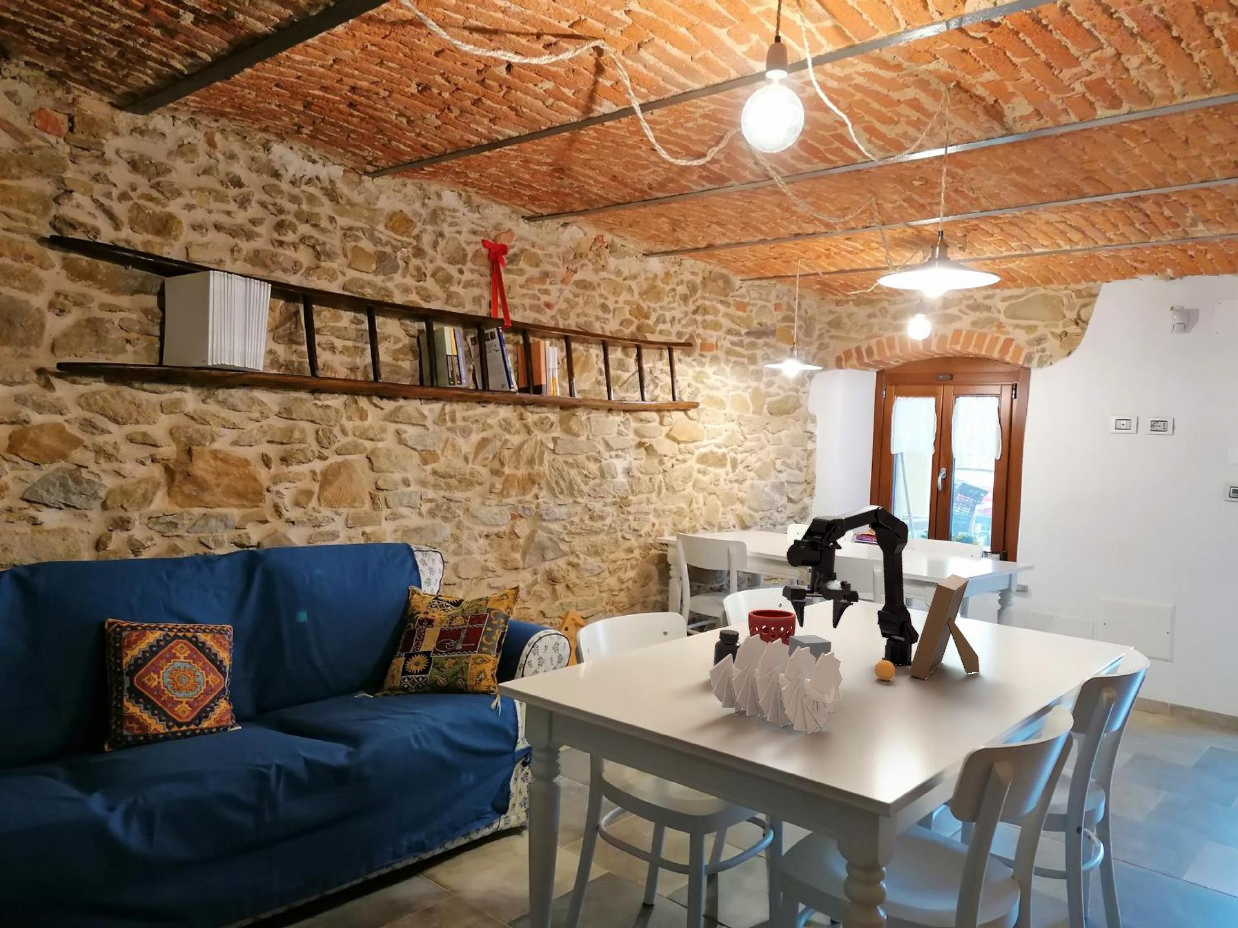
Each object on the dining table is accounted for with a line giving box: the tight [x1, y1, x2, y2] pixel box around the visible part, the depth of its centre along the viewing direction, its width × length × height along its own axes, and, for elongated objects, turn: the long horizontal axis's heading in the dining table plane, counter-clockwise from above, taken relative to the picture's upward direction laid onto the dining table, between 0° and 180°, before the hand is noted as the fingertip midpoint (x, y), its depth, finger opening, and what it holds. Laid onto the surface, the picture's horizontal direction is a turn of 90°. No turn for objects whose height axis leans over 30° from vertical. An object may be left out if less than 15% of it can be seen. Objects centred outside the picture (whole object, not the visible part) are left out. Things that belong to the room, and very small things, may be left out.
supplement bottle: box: [712, 629, 742, 668], centre depth 211 cm, size 7×7×12 cm
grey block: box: [788, 634, 832, 664], centre depth 220 cm, size 8×8×9 cm
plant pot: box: [747, 609, 797, 653], centre depth 236 cm, size 13×13×12 cm
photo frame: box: [908, 573, 980, 680], centre depth 224 cm, size 15×22×25 cm
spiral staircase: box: [708, 634, 843, 736], centre depth 180 cm, size 18×18×25 cm
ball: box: [874, 659, 896, 681], centre depth 216 cm, size 5×5×5 cm
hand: (818, 627), depth 216 cm, fingers open, 9 cm apart
